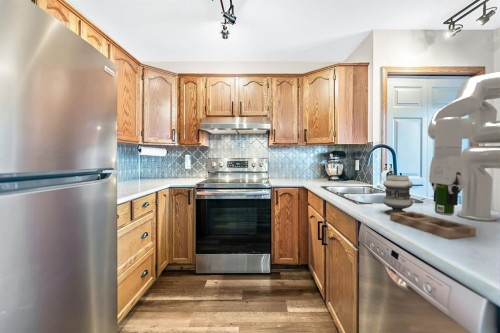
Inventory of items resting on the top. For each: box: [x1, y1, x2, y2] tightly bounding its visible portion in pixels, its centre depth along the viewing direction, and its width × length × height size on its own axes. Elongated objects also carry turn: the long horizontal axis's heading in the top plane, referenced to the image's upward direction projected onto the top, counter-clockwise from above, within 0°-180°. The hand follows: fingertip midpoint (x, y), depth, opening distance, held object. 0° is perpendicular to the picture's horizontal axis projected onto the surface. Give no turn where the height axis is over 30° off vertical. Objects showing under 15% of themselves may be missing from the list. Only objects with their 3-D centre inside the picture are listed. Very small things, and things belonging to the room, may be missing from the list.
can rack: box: [389, 211, 477, 240], centre depth 93 cm, size 24×12×3 cm, turn 14°
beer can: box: [434, 183, 456, 216], centre depth 86 cm, size 5×5×12 cm
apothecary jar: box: [382, 174, 414, 215], centre depth 114 cm, size 12×12×18 cm
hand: (445, 202), depth 86 cm, fingers closed on beer can, 5 cm apart
